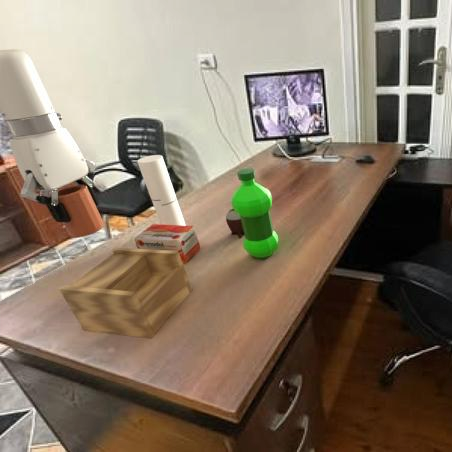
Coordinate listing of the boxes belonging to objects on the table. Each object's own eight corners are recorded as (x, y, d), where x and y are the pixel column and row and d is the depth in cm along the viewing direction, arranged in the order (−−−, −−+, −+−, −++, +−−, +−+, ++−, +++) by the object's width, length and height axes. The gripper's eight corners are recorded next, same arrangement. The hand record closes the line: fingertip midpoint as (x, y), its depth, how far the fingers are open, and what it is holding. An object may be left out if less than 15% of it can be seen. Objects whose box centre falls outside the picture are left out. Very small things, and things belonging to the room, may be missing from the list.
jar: (62, 237, 72) (40, 197, 68) (87, 222, 78) (68, 184, 73) (87, 238, 71) (67, 197, 66) (111, 222, 76) (93, 184, 72)
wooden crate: (83, 330, 79) (58, 288, 73) (132, 285, 93) (115, 247, 87) (151, 338, 75) (130, 295, 69) (192, 290, 89) (178, 250, 83)
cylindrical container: (169, 225, 122) (144, 155, 110) (189, 223, 122) (166, 154, 109) (160, 235, 116) (132, 163, 104) (180, 234, 115) (155, 161, 103)
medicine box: (142, 260, 103) (132, 237, 99) (160, 245, 110) (151, 223, 106) (186, 264, 99) (178, 240, 95) (202, 248, 106) (195, 225, 102)
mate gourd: (228, 239, 109) (216, 196, 102) (232, 227, 116) (221, 186, 109) (252, 237, 110) (242, 193, 102) (255, 225, 117) (245, 183, 109)
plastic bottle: (242, 249, 104) (222, 169, 91) (277, 240, 107) (262, 161, 94) (248, 267, 95) (226, 182, 83) (285, 256, 98) (270, 173, 86)
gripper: (60, 115, 72) (96, 195, 80) (-32, 140, 57) (24, 234, 66) (90, 114, 70) (124, 195, 79) (2, 138, 55) (56, 235, 64)
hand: (78, 212), depth 72 cm, fingers closed on jar, 6 cm apart
